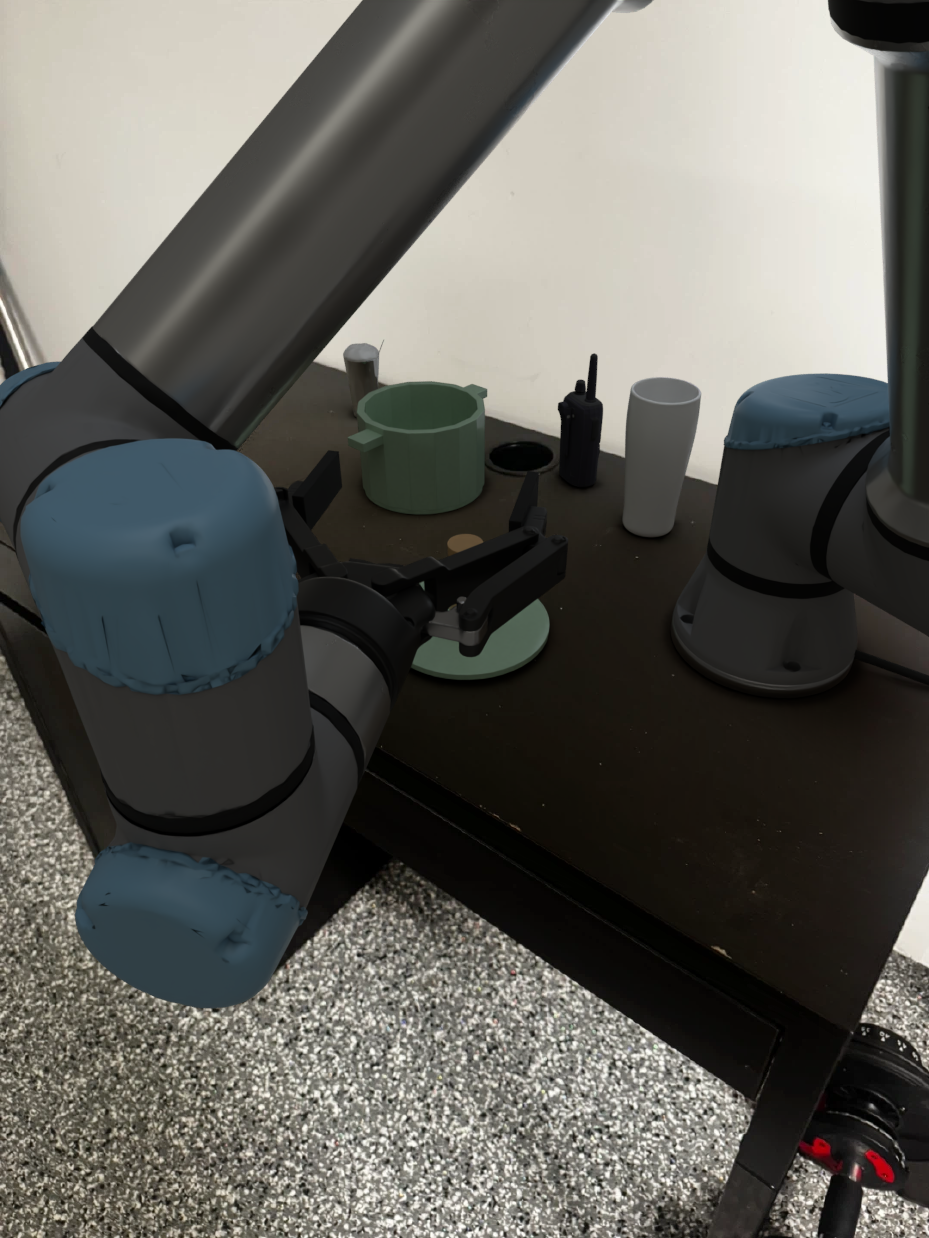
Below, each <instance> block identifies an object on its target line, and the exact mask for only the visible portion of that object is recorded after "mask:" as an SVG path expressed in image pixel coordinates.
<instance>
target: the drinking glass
mask: <svg viewBox="0 0 929 1238" xmlns="http://www.w3.org/2000/svg"><path fill="white" fill-rule="evenodd" d="M701 400H702V391H701V389H700V388H699V386H697V385H695V384H694V383H692V382H689V381H687V380H684V379H680V378H675V377H668V376H667V377H666V376H665V377H664V376H655V377H654V376H653V377H645V378H642V379H639V380H637V381H636V382H634V383H633V384H632V385H631V387H630V390H629V397H628V403H627V411H626V418H625V432H624V433H625V435H624V486H623V507H622V508H623V509H622V516H621V517H622V519H621V521H622V524H623V527H624V528H625V529H626V530H627V531H628V532H630V533H631V534H633V535H635V536H639V537H642V538H659V537H663V536H665V535H667V534H670V532H671V531H672V530H673V528H674V527H675V526H674V525H675V521H676V515H677V510H678V505H679V502H680V497H681V494H682V490H683V485H684V481H685V478H686V473H687V469H688V466H689V462H690V458H691V454H692V450H693V447H694V443H695V438H696V434H697V429H698V423H699V417H700V409H701Z"/></svg>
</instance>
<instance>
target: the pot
mask: <svg viewBox="0 0 929 1238" xmlns="http://www.w3.org/2000/svg"><path fill="white" fill-rule="evenodd" d="M486 398H488V388H486V387H483V386H480V385H477V384H474V383H471V384H468V385H466V386H462V385H458V384H455V383H449V382H441V381H434V380H433V381H432V380H426V381H424V380H423V381H421V380H419V381H405V382H399V383H394V384H387V385H385V386H382V387H380V388H378V389H377V390H375V391H372V392H370V393H368V394H367V395H366V396H365V397H363V398H362V399H361V400H360V401H359V402H358V407H357V417H356V420H357V433H354V434H351V435H350V436H347V445H348V447H350V448H352V449H354V450H357V451H358V452H359V456H360V457H359V458H360V467H361V479H362V480H361V481H362V488H363V490H364V493H365V495H366V498H368V499H369V500H370V502H372V503H374V504H375V505H377V506H378V507H380V508H383V509H385V510H388V511H391V512H396V513H399V514H407V515H435V514H442V513H448V512H451V511H455V510H457V509H460V508H463V507H466V506H467V505H470V504H471V503H473V502H474V501H475V500H477V498H478V497H479V496H480V495H481V494H482V492H483V489H484V486H485V471H486V470H485V469H486V467H485V465H486V464H485V460H486V459H485V458H486V457H485V455H486V454H485V453H486V451H485V450H486V449H485V448H486V445H485V443H486V438H485V437H486V409H485V400H484V399H486Z"/></svg>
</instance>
